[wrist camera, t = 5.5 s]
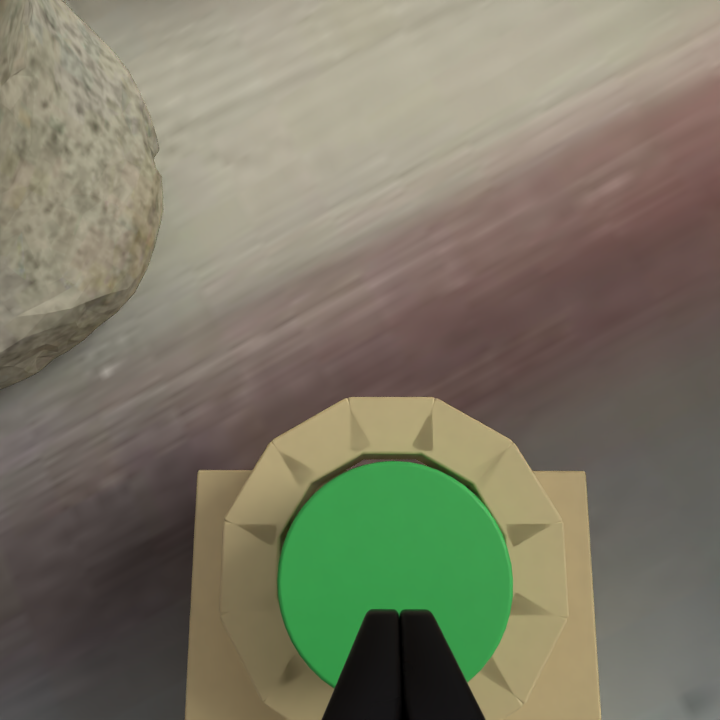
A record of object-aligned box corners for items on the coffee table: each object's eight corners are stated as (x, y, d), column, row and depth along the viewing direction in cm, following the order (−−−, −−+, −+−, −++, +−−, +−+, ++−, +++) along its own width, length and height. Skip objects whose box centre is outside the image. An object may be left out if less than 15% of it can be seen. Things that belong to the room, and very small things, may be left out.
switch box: (567, 955, 17) (664, 1191, 11) (215, 948, 17) (132, 1175, 12) (540, 426, 20) (607, 396, 14) (236, 426, 20) (177, 396, 14)
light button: (493, 671, 13) (519, 709, 11) (292, 669, 14) (272, 707, 11) (486, 467, 14) (509, 460, 12) (296, 467, 14) (279, 460, 12)
